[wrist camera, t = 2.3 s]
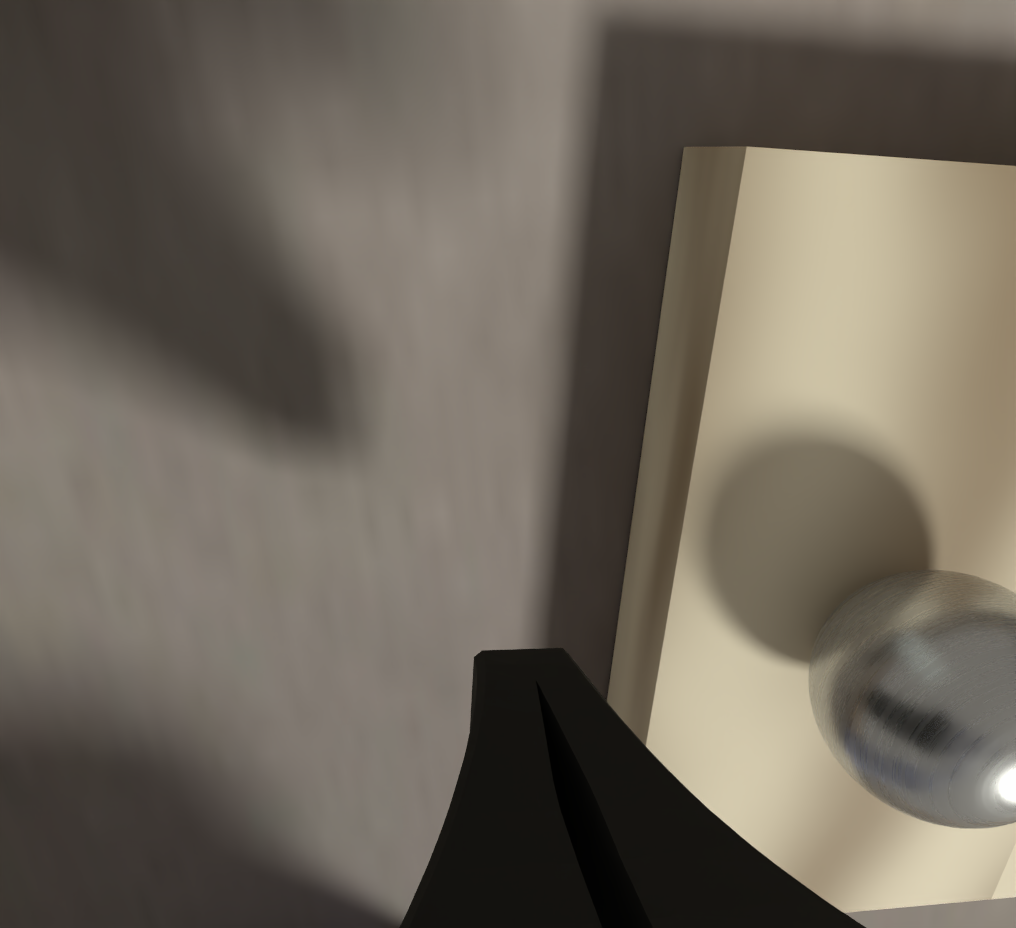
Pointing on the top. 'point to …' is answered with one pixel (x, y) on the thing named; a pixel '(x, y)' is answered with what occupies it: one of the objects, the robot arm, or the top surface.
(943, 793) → the steel ball
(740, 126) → the top surface
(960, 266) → the hole plate
